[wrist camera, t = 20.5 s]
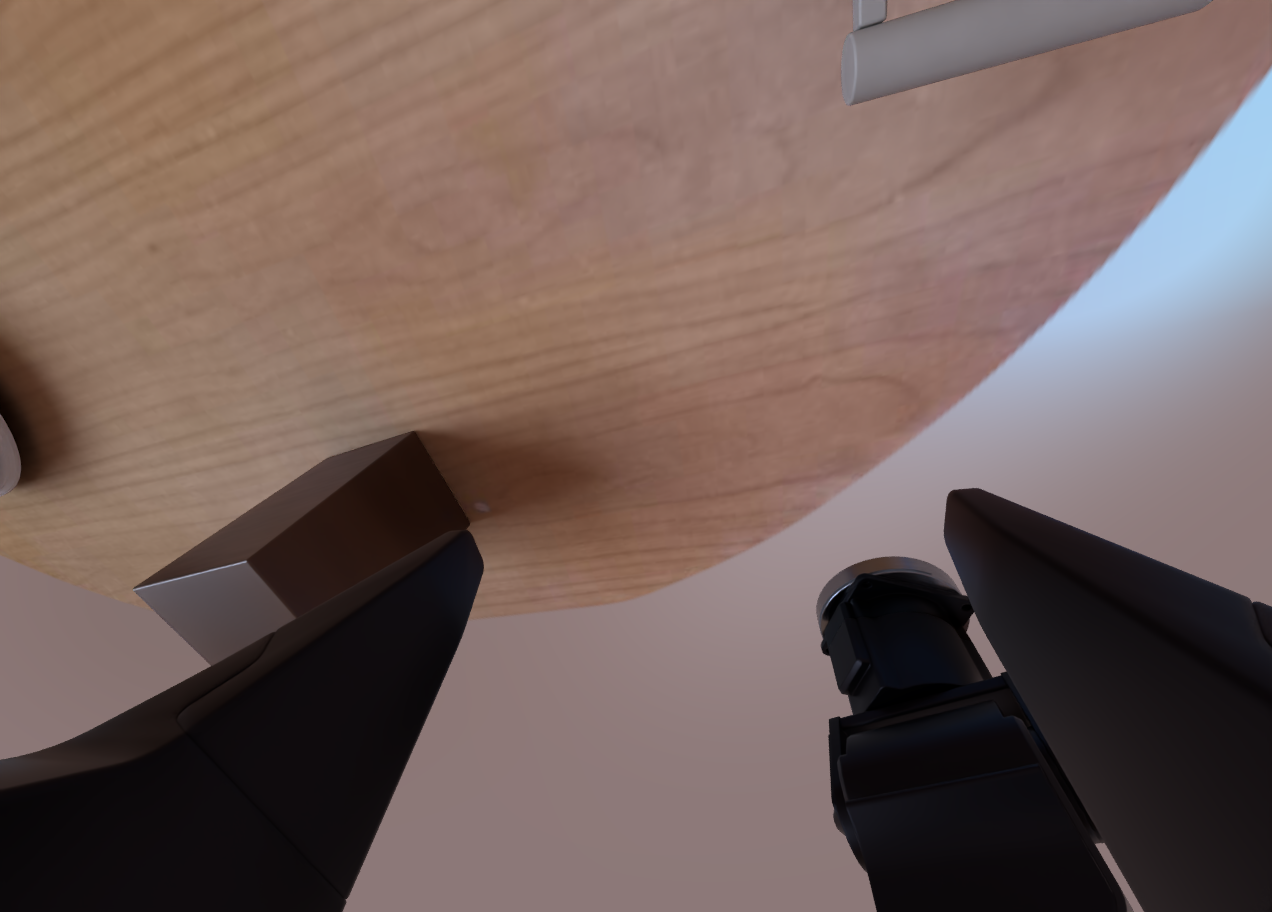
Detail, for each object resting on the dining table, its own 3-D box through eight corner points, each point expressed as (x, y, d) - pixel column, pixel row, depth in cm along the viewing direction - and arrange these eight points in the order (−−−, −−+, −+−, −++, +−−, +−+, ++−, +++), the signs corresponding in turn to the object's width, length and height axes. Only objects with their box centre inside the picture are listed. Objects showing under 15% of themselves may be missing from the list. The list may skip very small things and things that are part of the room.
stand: (414, 430, 24) (246, 560, 16) (470, 523, 27) (352, 681, 18) (326, 458, 26) (130, 589, 17) (386, 543, 28) (241, 696, 20)
